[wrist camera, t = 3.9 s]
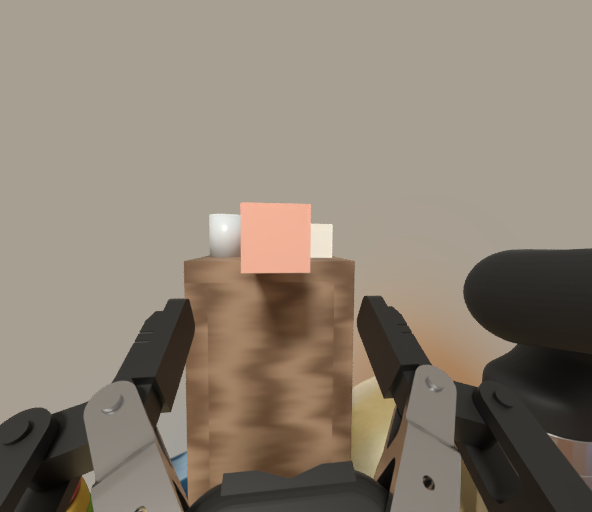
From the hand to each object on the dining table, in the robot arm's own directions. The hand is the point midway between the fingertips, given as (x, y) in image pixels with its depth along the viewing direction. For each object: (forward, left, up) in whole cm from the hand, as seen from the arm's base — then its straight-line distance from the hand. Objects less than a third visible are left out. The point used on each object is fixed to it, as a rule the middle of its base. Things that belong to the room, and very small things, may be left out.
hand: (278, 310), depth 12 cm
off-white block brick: (-5, -20, +1) cm, 21 cm away
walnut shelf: (0, -19, -31) cm, 36 cm away
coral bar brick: (0, -14, +1) cm, 14 cm away
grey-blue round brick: (+5, -20, +1) cm, 21 cm away
